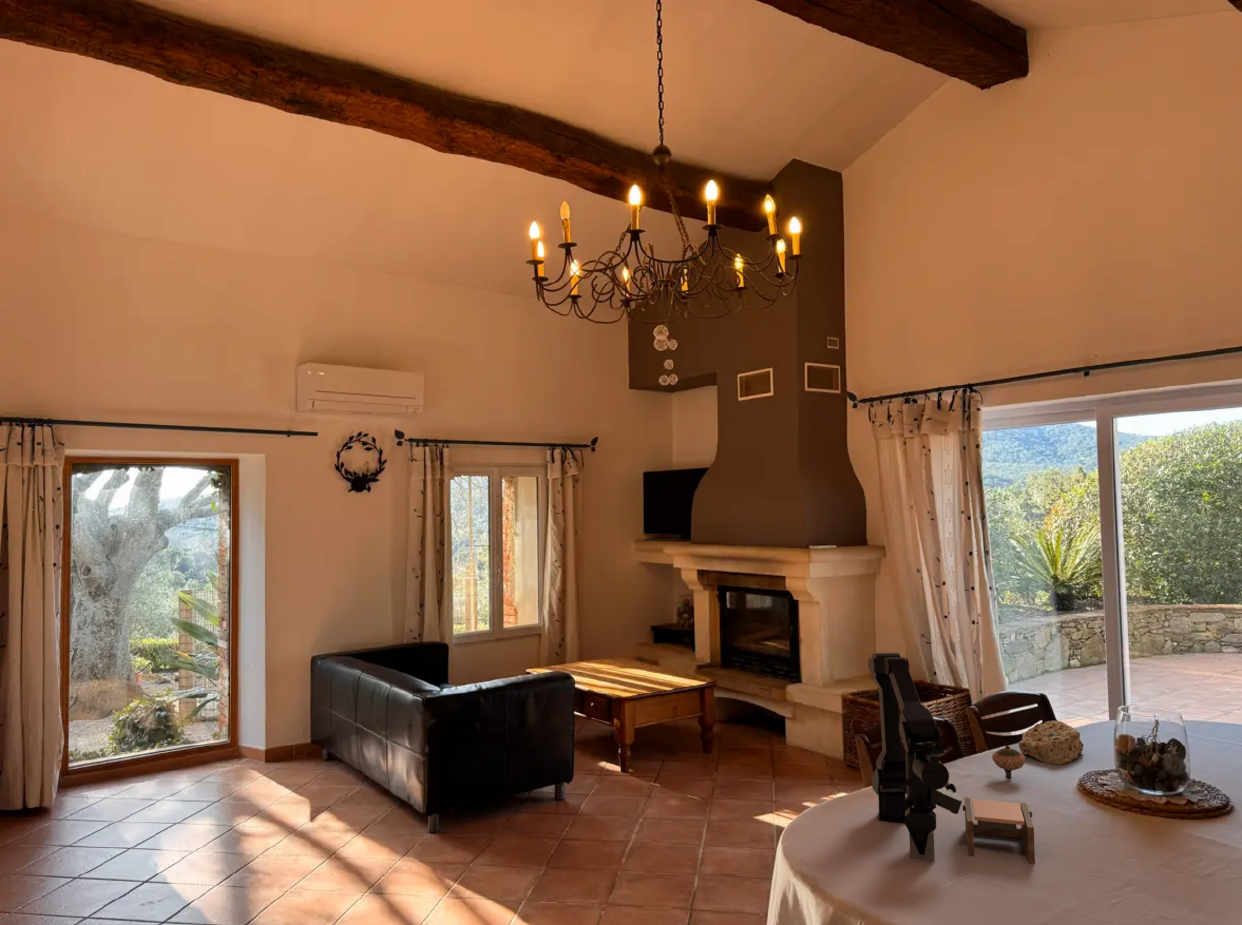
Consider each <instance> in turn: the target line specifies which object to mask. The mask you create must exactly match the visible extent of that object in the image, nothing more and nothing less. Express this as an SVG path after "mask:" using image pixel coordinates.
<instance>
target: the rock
mask: <svg viewBox="0 0 1242 925" xmlns="http://www.w3.org/2000/svg"><path fill="white" fill-rule="evenodd" d="M1018 748H1019V750H1020V753H1022V754H1023V755H1029V756H1030V757H1031V758H1032V757H1033V758H1035V759H1036V760H1039V761H1041V762H1043V763H1045V764H1050V765H1054V766H1056V765H1057V766H1062V765H1063V764H1065V763H1068V762H1069V763H1070V762H1072V761H1073V760H1075V759H1077V758H1078V757H1079V754H1082V753H1083V750H1084V743H1083V742H1082V741H1081V732H1080V731H1078V730H1076V728H1074V727H1073V726H1070V725H1068V724H1067V723H1065V722H1063V721H1061V720H1048V721H1045V722H1044V723H1036V724H1035V725H1034V726H1033V727H1030V728H1029V729H1028V730H1026V731H1025V732H1022V733H1021V740H1019V741H1018Z"/></svg>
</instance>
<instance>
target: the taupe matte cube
mask: <svg viewBox="0 0 1242 925" xmlns="http://www.w3.org/2000/svg"><path fill="white" fill-rule="evenodd" d="M908 833H909V832H908ZM908 836H909V859H910V860H915V861H916V860H917V861H924V862H935V859H936V858H935V830H934V831H932V832H930V833H929V834H928V839H927V845H926V850H925V855H920V854H919V853H918V850H917V848H916V846H915V844H914V841H913V839H912V837H911V835H910V833H909V834H908Z"/></svg>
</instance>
